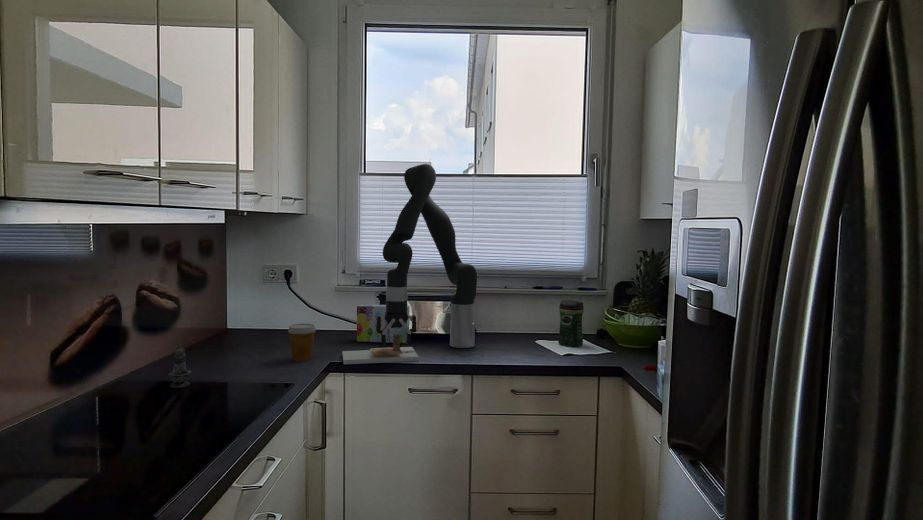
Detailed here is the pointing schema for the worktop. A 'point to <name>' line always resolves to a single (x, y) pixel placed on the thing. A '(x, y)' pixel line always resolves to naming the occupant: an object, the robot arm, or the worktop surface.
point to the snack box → (368, 324)
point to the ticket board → (378, 356)
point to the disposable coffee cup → (301, 341)
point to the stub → (390, 351)
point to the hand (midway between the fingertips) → (396, 344)
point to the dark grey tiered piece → (179, 369)
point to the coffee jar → (571, 323)
